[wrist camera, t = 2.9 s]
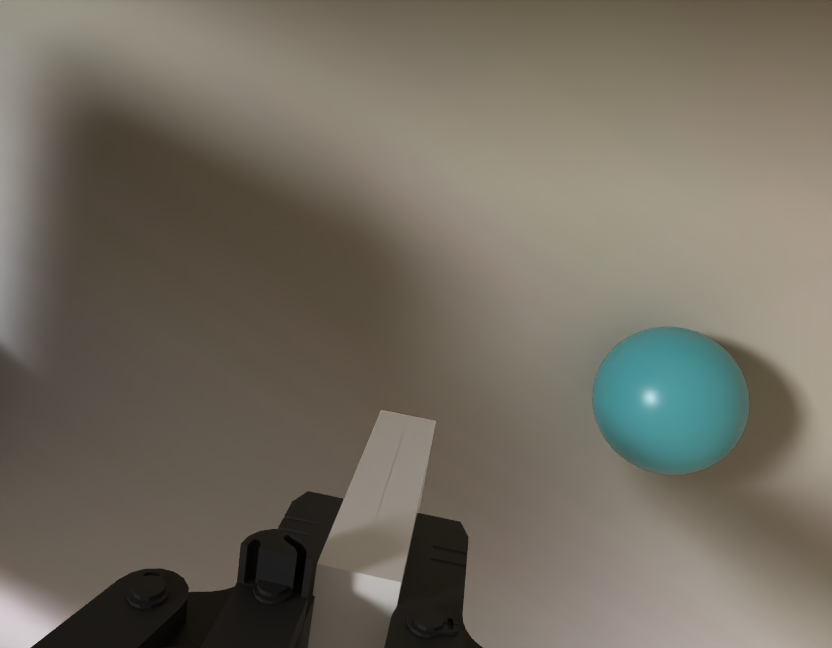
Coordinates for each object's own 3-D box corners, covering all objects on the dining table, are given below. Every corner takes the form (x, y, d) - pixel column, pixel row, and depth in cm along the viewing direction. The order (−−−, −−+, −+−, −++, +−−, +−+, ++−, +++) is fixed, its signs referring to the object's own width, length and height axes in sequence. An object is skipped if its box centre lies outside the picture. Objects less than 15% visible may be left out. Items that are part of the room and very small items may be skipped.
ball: (605, 448, 29) (629, 521, 24) (567, 333, 28) (584, 384, 23) (736, 412, 28) (790, 480, 23) (702, 291, 27) (752, 334, 22)
